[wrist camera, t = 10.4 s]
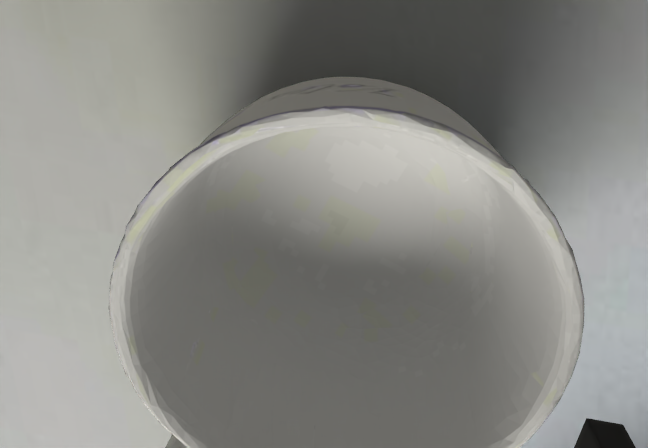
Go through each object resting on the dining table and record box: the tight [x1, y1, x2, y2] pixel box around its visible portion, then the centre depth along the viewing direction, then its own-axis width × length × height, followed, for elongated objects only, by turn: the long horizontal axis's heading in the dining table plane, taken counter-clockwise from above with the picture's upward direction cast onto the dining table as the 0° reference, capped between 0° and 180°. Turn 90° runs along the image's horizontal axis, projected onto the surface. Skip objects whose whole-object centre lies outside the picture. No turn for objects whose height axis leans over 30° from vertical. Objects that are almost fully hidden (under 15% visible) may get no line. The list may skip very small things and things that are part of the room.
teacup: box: [109, 77, 584, 448], centre depth 17 cm, size 14×11×8 cm
